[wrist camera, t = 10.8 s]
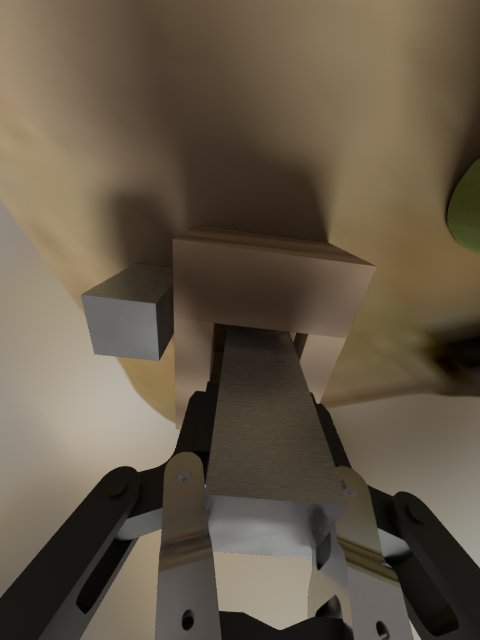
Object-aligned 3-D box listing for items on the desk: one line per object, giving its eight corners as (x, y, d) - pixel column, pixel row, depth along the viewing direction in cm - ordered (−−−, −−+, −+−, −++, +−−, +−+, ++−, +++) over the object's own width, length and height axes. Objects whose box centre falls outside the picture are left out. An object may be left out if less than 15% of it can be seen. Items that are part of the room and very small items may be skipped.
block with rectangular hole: (199, 225, 17) (172, 239, 10) (328, 243, 17) (376, 266, 11) (194, 368, 23) (175, 429, 17) (287, 378, 24) (303, 441, 17)
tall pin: (231, 296, 18) (204, 494, 6) (279, 302, 18) (348, 506, 6) (226, 336, 20) (199, 550, 8) (269, 341, 20) (309, 558, 8)
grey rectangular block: (136, 262, 18) (80, 294, 12) (185, 269, 18) (155, 303, 12) (140, 306, 20) (94, 354, 14) (185, 312, 20) (159, 361, 14)
